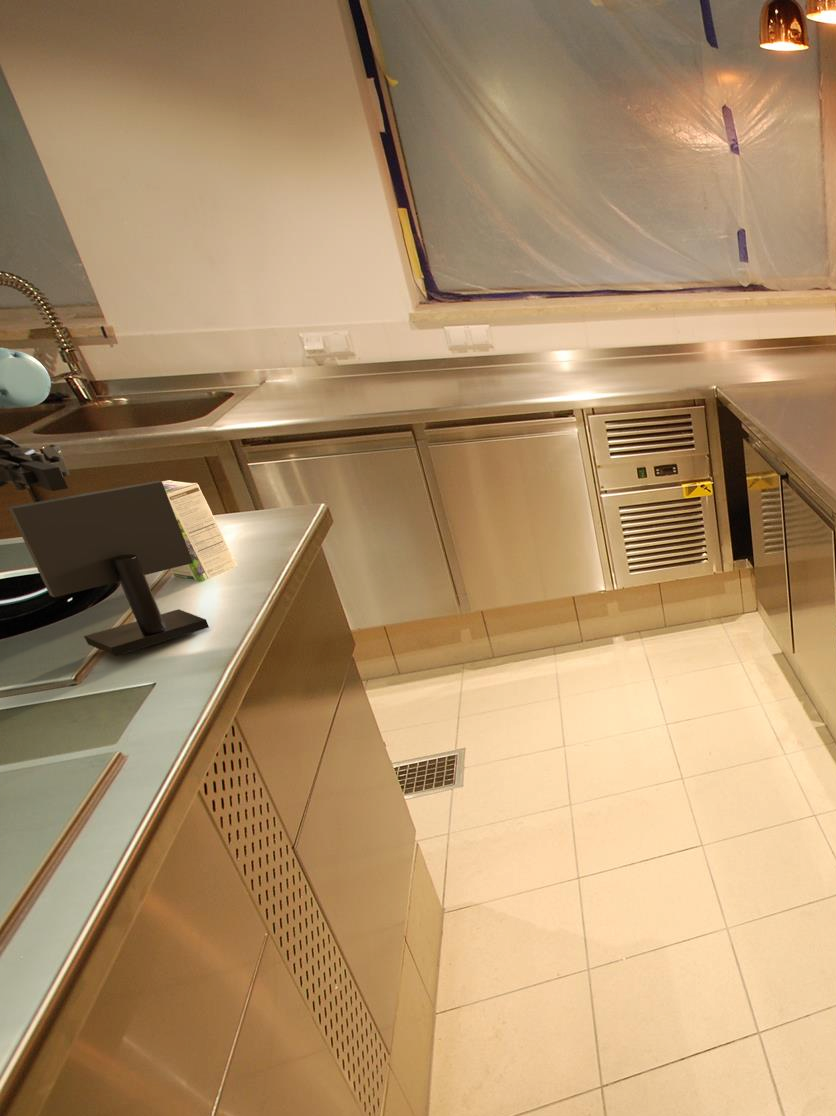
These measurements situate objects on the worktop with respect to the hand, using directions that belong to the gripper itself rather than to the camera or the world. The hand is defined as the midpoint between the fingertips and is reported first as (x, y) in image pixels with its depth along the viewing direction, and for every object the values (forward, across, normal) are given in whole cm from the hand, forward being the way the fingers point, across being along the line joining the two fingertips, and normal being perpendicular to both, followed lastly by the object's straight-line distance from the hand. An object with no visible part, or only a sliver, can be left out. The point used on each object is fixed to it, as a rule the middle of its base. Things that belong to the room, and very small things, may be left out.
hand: (55, 479), depth 104 cm
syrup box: (-9, -14, -20) cm, 26 cm away
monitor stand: (+8, 0, -20) cm, 21 cm away
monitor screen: (+8, 0, -12) cm, 14 cm away
